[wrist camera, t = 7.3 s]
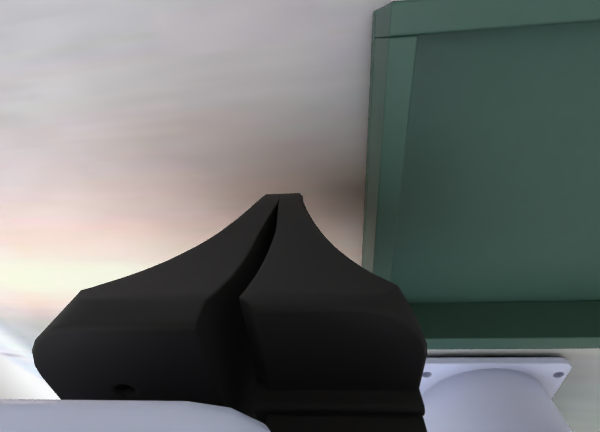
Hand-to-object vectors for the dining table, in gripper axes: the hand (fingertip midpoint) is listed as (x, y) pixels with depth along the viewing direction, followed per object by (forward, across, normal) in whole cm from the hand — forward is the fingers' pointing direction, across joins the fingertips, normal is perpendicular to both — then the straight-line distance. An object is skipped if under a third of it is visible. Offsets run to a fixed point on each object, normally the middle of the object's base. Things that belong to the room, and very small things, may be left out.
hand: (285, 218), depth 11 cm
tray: (+2, -10, 0) cm, 10 cm away
